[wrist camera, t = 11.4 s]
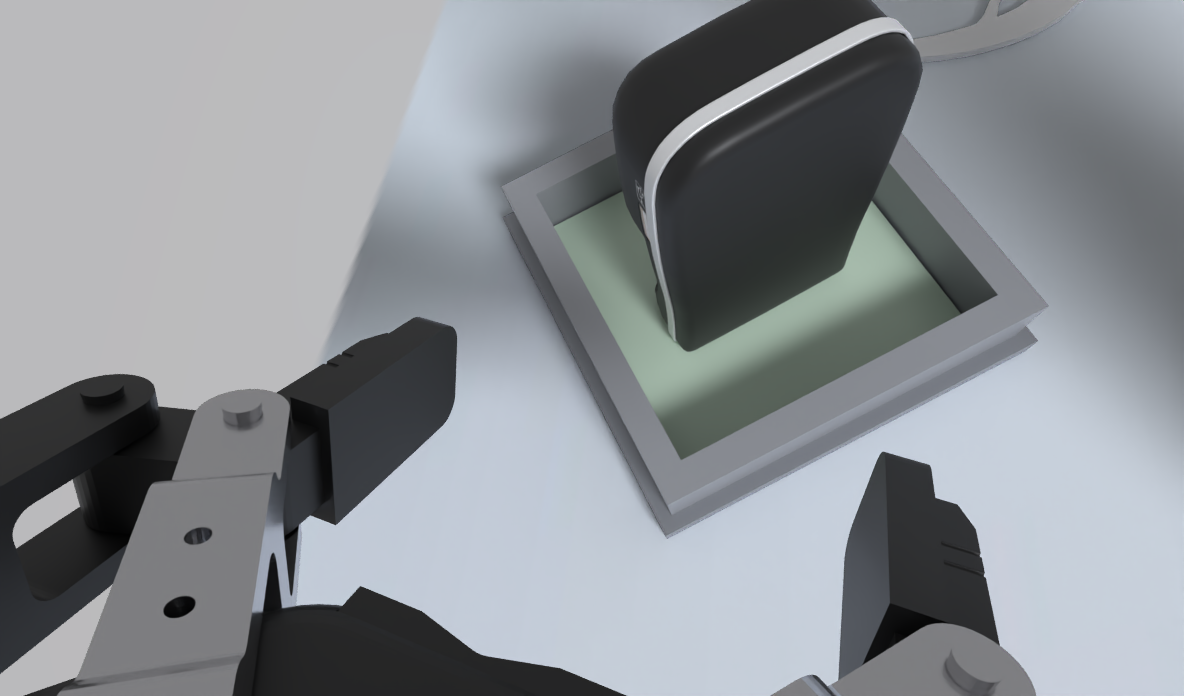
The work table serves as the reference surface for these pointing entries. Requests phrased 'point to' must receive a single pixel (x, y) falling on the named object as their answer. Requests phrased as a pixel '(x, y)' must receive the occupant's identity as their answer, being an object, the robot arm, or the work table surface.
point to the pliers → (994, 30)
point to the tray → (767, 331)
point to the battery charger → (759, 153)
